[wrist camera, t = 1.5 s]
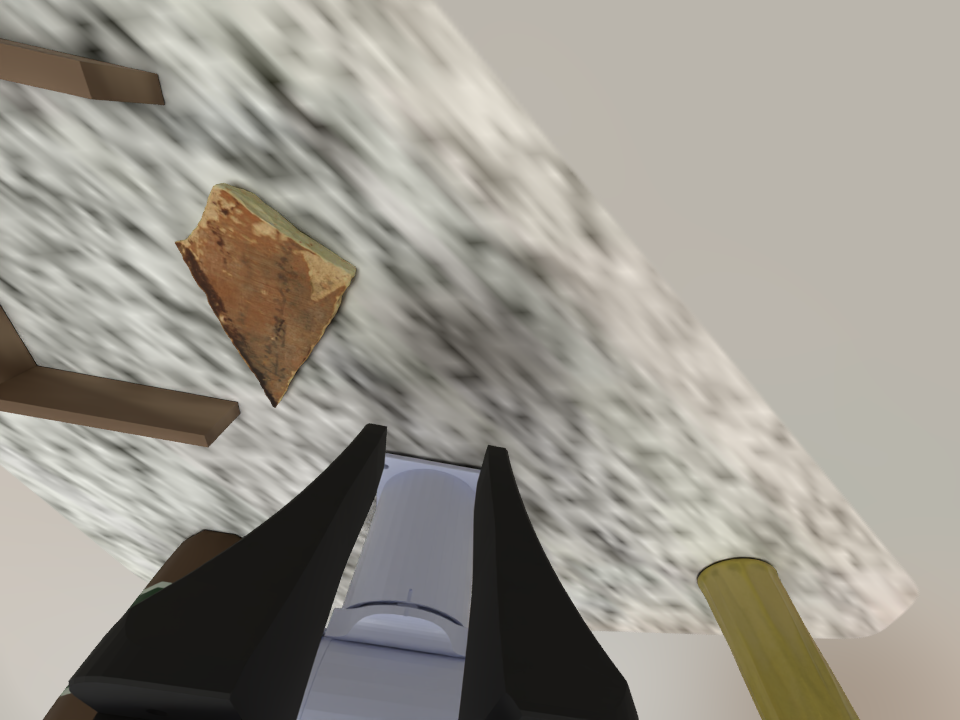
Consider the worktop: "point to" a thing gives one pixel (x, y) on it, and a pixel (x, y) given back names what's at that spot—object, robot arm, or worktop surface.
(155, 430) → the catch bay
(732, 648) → the olive green rod
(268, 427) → the worktop surface
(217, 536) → the beer bottle
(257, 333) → the shard
